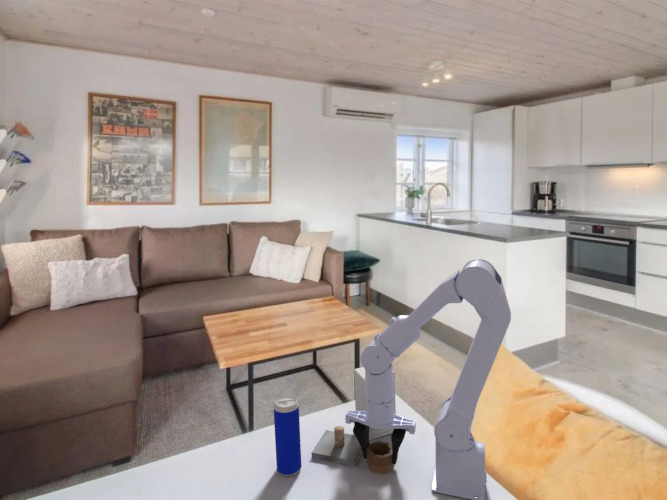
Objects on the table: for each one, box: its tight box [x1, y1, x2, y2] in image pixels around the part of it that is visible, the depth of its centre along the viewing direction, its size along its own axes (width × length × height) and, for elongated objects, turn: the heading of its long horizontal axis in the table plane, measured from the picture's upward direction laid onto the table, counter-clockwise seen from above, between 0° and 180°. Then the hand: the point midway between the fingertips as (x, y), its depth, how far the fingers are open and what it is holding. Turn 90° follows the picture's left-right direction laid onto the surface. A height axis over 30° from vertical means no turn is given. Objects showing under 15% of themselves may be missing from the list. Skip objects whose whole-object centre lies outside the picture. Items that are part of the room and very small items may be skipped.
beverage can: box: [273, 395, 302, 477], centre depth 84 cm, size 5×5×15 cm
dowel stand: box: [311, 425, 363, 467], centre depth 90 cm, size 10×9×5 cm
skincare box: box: [353, 366, 397, 441], centre depth 96 cm, size 8×7×16 cm
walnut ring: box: [366, 440, 395, 475], centre depth 85 cm, size 5×5×4 cm
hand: (380, 458), depth 85 cm, fingers closed on walnut ring, 5 cm apart
